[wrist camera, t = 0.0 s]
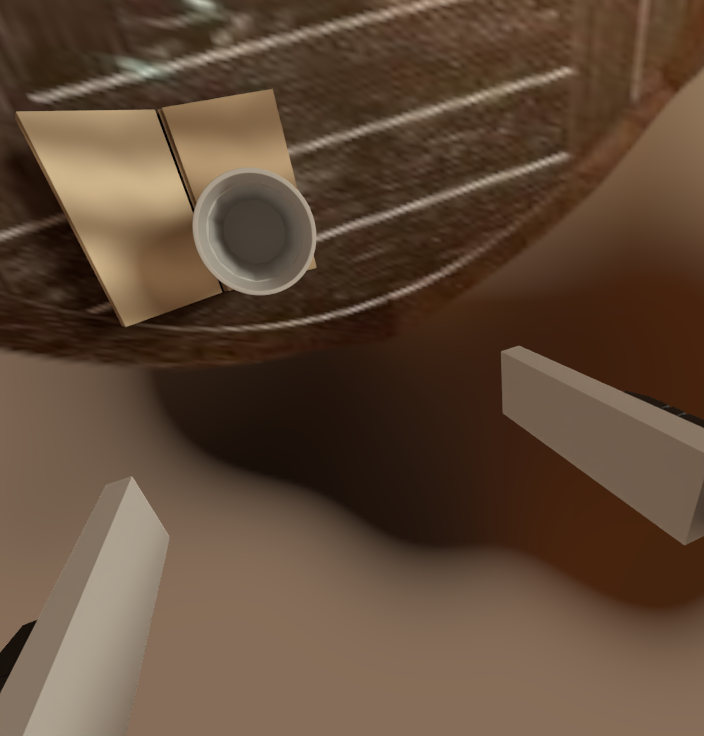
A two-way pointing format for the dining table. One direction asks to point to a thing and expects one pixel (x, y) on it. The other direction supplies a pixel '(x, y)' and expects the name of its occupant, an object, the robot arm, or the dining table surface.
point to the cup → (254, 231)
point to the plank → (123, 206)
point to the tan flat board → (227, 140)
